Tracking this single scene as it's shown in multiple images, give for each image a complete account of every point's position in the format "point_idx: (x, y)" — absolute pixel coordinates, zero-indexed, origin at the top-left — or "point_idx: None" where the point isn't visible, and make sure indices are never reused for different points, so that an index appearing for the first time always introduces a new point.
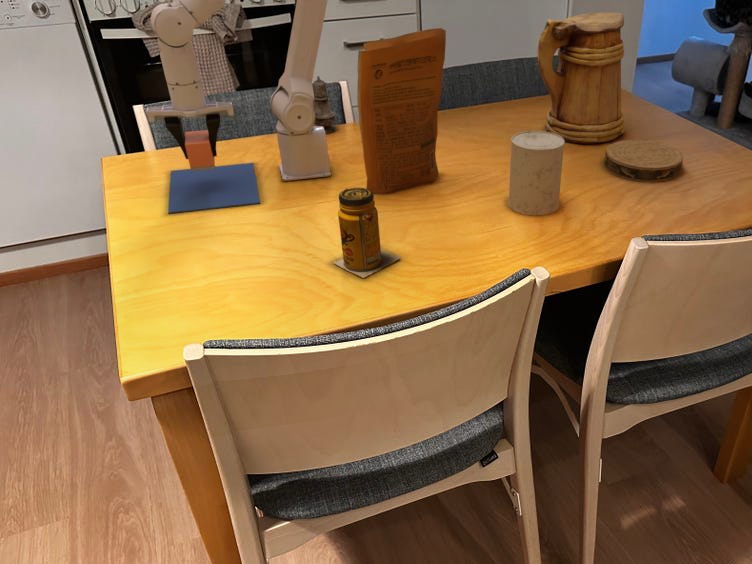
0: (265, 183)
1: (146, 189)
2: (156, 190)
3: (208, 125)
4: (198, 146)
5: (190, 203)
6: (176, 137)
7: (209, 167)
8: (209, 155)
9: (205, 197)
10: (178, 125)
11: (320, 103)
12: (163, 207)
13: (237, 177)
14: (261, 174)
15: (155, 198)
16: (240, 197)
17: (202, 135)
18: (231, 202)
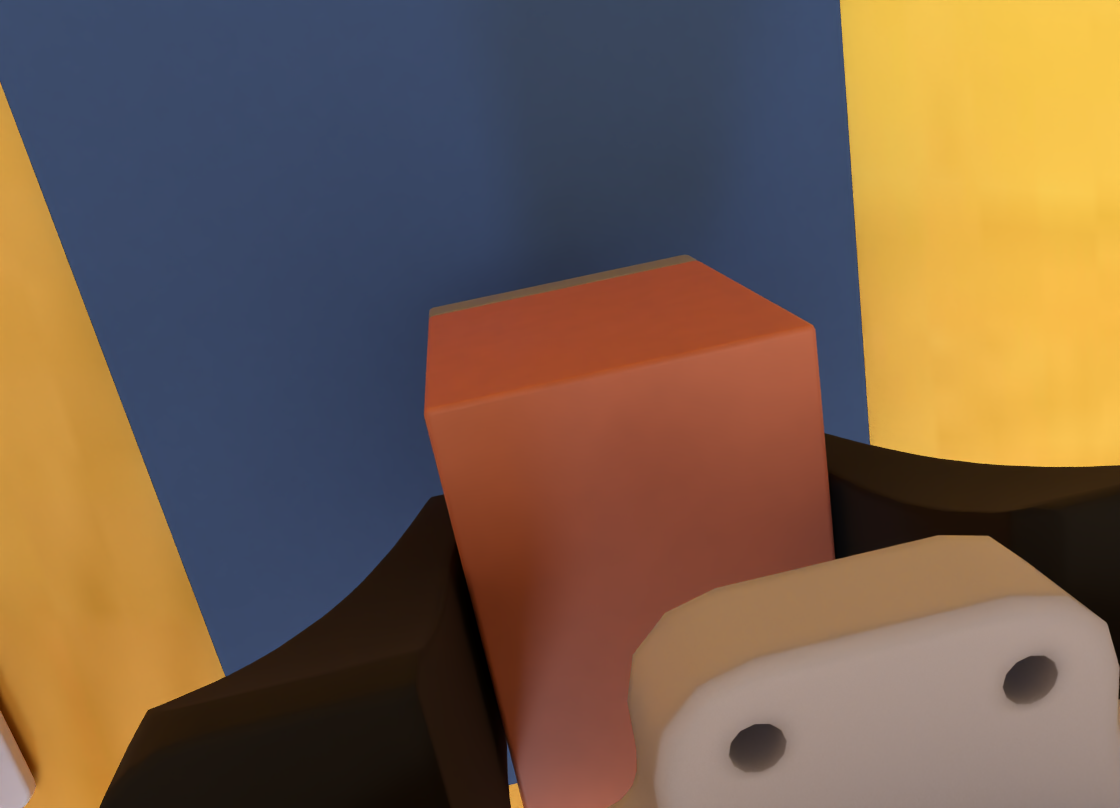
0: (72, 472)
1: (1031, 388)
2: (959, 366)
3: (384, 655)
4: (602, 356)
5: (656, 29)
6: (981, 472)
7: (486, 299)
8: (460, 344)
9: (543, 155)
10: (1053, 524)
11: None
12: (878, 3)
13: (348, 570)
14: (166, 652)
15: (956, 207)
16: (207, 127)
17: (599, 712)
18: (267, 7)
